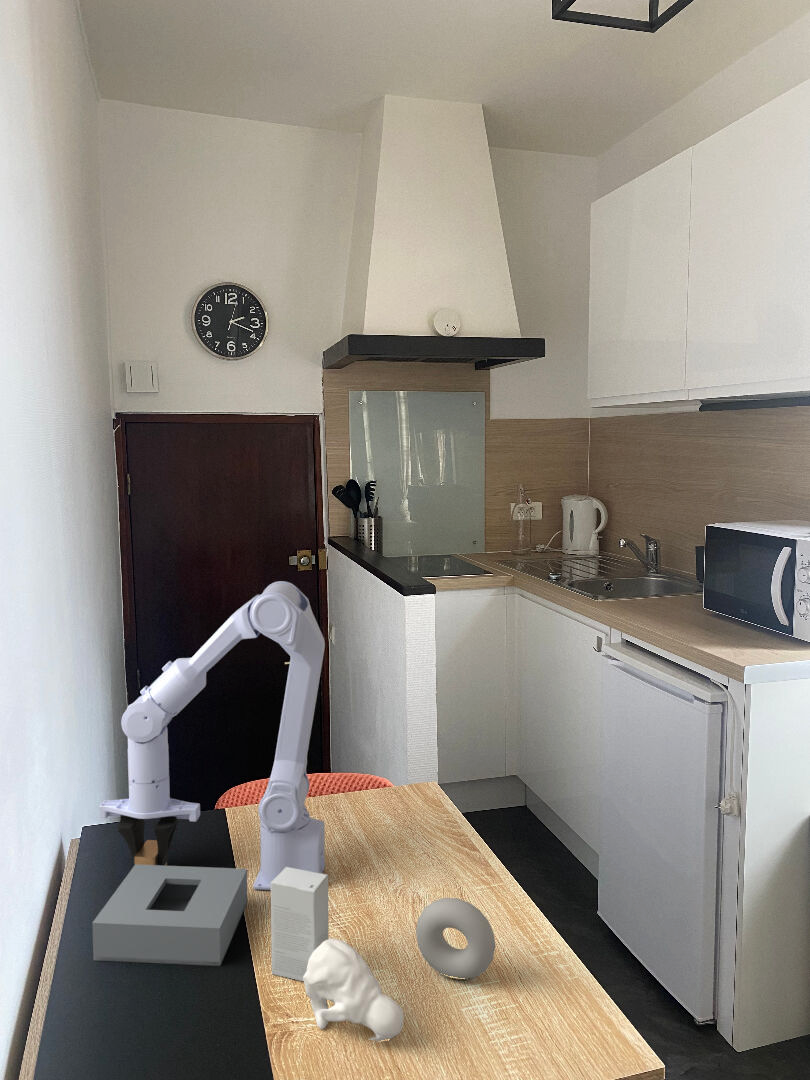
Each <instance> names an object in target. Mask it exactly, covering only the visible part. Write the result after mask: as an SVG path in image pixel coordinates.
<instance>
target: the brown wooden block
mask: <svg viewBox="0 0 810 1080" xmlns="http://www.w3.org/2000/svg"><path fill="white" fill-rule="evenodd" d="M135 864H136V865H158V846H157V839H156V840H155V839H147V840H146V841H144V845H143V846H142V847H141V849H140V850H139V851H138V853H137V854H136V855H135ZM164 866H168V861H167V862H166V864H165V865H164Z"/></svg>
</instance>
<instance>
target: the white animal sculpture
mask: <svg viewBox="0 0 810 1080" xmlns="http://www.w3.org/2000/svg"><path fill="white" fill-rule="evenodd" d="M303 981H304V982H303ZM303 981H302V982H303V984H304V989H305V994H306V996H307V997H308V998H309V999H310V1004H311V1009H312V1011H313V1014H314V1017H315V1020H316V1026H317V1027H319V1028H320V1030H321V1029H322V1030H324V1029H326V1027H327V1025H328V1023H329V1022H344V1021H345V1022H346V1021H349V1022H350V1023H352V1024H361V1025H362V1026H364V1027H367V1028H369V1029H370V1030H371V1031H373V1033H374V1035H375V1036H374V1037H370V1038H368V1040H369V1041H374V1042H377V1041H381V1040H385V1039H391V1038H392V1039H393V1038H394V1037H396V1036H398V1035H399V1034H400V1033H401V1031H402V1029H403V1026H404V1015H405V1014H404V1012H403V1011H404V1010H403V1009H402V1007H401V1005H400V1004H398V1002H397V1001H395V1000H394V999H392V998H391V996H388V995H387V994H383V991H382V988H381V984H380V982H379V980H378V979H377V978H376V976H374V974H373V973H372V970H371V968H370V966H369V965H368V964H367V962H366V961H365V960H364V958H363V957H362V956H361V955H360V954H359V953H358V952H357V950H356V949H355V947H353V946H351V945H349V944H348V943H347V942H345V941H344V940H341V939H337V938H333V937H331V938H329V939H328V940H325V941H324V942H323V943H322V944H321V945H320V946H318V947H317V948H316V949H315V950H314V952H313V953H312V955H311V956H310V958H309V961H308V965H307V971H306V973H305V975H304V976H303ZM328 1000H329V1001H330V1002H331V1003H333V1004H334V1005H332V1006H331V1007H329V1006H328ZM319 1028H318V1029H319ZM323 1028H324V1029H323ZM392 1039H391V1040H392ZM381 1042H382V1041H381Z"/></svg>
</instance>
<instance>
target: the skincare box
mask: <svg viewBox="0 0 810 1080" xmlns="http://www.w3.org/2000/svg"><path fill="white" fill-rule="evenodd" d="M270 918H271V919H270V928H271V931H270V932H271V933H270V935H271V938H270V939H271V941H270V943H271V945H270V946H271V974H272V975H273V974H274V976H279V977H282V976H283V977H282V978H286V977H287V978H286V979H290V978H291V980H294V979H295V981H298V982H299V981H300V982H303V976H304V975H305V973H306V971H307V965H308V961H309V958H310V956H311V955H312V953H313V952H314V950H315V949H316V948H317V947H318V946H320V945H321V944H322V943H323V942H324V941H325V940H328V939H330V938H329V937H330V935H329V934H330V932H329V929H330V928H329V874H325V873H323V874H321V873H315V872H310V871H305V870H300V869H295V868H290V867H285V869H284V870H283V871H282V872H281V873H280V874H279V875H278V876H277V877H276V878H275V879H274V880H273V881H272V882H271V890H270Z"/></svg>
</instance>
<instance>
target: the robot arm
mask: <svg viewBox="0 0 810 1080" xmlns="http://www.w3.org/2000/svg"><path fill="white" fill-rule="evenodd" d="M260 634H262V635H263V636H265V637H267V638H269V639H271V640H272V641H274V642H276V643H277V644H279V646H281V648H283V650H284V651H285V652H286V653H287V654H288V655H289V656H290V660H289V666H288V672H287V680H286V685H285V691H284V692H285V693H284V696H283V697H284V699H283V704H282V709H281V715H280V723H279V730H278V735H277V742H276V748H275V755H274V761H273V766H272V770H271V772H270V773H271V774H270V776H269V778H268V783H267V786H266V789H265V791H264V794H263V796H262V797H261V799H260V801H259V804H258V810H257V811H258V816H259V818H260V823H259V824H260V825H259V826H260V827H259V828H260V830H259V831H260V834H259V835H260V868H259V871H258V873H257V876H256V878H255V881H254V882H253V885H252V888H253V890H265V891H271V882H272V881H273V880H274V879H275V878H276V877H277V876H278V875H279V874H280V873H281V872H282V871H283V870H284V869H285V867H290V868H295V869H300V870H305V871H310V872H315V873H321V874H324V871H325V866H326V859H325V858H326V856H325V854H326V853H325V851H326V850H325V848H326V846H325V843H326V841H325V839H326V837H325V833H326V832H325V831H326V829H325V821H324V820H320V819H316V818H313V817H312V816H310V812H309V811H308V809H307V807H306V805H305V802H306V798H307V796H308V794H309V791H310V780H309V777H308V774H307V766H308V751H309V747H310V739H311V735H312V727H313V721H314V715H315V711H316V710H315V709H316V704H317V699H318V698H317V697H318V691H319V690H318V689H319V684H320V677H321V673H322V667H323V661H324V653H325V647H326V643H325V637H324V636H323V633H322V631H321V629H320V626H319V624H318V622H317V620H316V617H315V615H314V613H313V611H312V607H311V605H310V601H309V598H308V597H307V596H306V595H305V594H304V593H303V592H302V591H301V590H300V589H299V588H298V587H297V586H296V585H294V584H293V583H291V582H289V581H284V580H283V581H282V580H281V581H280V580H279V581H274V582H272V583H271V584H269V585H267V587H266V588H264V590H263V592H262V593H261V594H259V593H258V594H256V595H255V596H253V597H252V598H251V599H250V600H248V601H247V602H246V603H244V604H243V605H242V606H241V607H240V608H238V609H237V610H236V611H234V613H232V614H231V615H230V616H229V618H227V620H225V622H224V623H223V624H222V625H221V626H220V627H219V628H218V629H217V630H216V631H215V632H214V633H213V634H212V636H210V638H208V640H206V642H205V643H204V644H203V645H201V646H200V648H199V649H198V650H197V651H196V652H195V654H194V655H193V656H192V657H181V658H180V657H179V658H176V660H174V661H173V662H172V660H169V661H168V662H166V664H165V665H164V666H163V667H162V668H161V670H162V673H161V675H159V676H158V677H157V678H156V679H155V680H154V681H153V682H152V683H151V684H150V686H148V685H145V686H144V687H143V688H142V689H141V690H140V691H139V692H140V694H141V695H140V696H138V698H136V700H135V701H134V702H132V703H131V704H128V706H127V708H126V710H125V711H124V712H123V714H122V716H121V721H120V725H121V729H122V732H123V733H124V735H125V736H126V737H127V771H128V772H127V773H128V774H127V775H128V776H127V777H128V778H127V779H128V797H129V798H121V799H113V800H112V799H109V800H107V799H105V800H103V801H102V802H101V803H100V805H99V806H98V814H99V815H98V818H99V819H107V818H109V817H114V818H116V817H117V818H120V819H119V823H118V824H117V832H118V833H120V834H119V835H120V836H121V837H122V838H123V839H124V841H125V843H126V844H127V847H128V849H129V851H130V854H131V857H132V860H133V864H134V865H135V855H136V854H137V853H138V851H139V850H140V849H141V847H142V846H143V845H144V843H145V837H144V835H145V824H146V823H145V822H146V820H148V819H149V820H150V819H160V820H159V821H158V822H157V823H156V824H155V826H154V834H155V837H156V840H157V846H158V865H161V866H164V865H165V864H166V862H167V863H168V861H169V860H168V859H169V853H170V848H171V843H172V841H173V837H174V835H175V832H176V830H177V827H178V826H179V825H178V824H179V823H180V820H188V821H189V822H197V821H198V820H199V818H200V816H201V804H200V803H197V802H190V801H184V800H180V799H176V798H171V796H170V794H171V793H170V769H169V768H170V765H169V764H170V757H169V756H170V755H169V743H168V742H169V741H168V739H169V736H168V733H169V731H168V724H170V722H171V721H172V719H173V718H174V717H175V716H177V715H178V714H179V713H180V712H181V711H182V710H183V709H185V707H186V706H188V704H189V703H190V702H191V701H192V700H194V698H195V697H196V696H197V695H199V693H200V692H201V691H202V690H203V689H204V688H206V685H207V672H209V670H210V669H212V667H214V666H215V665H216V664H217V663H218V662H219V661H220V660H221V659H222V658H223V657H225V655H226V654H227V653H228V652H229V651H231V650H232V649H233V648H234V647H235V646H236V645H237V644H238V643H240V641H242V640H248V639H257V638H258V637H259V635H260ZM134 865H133V866H134Z"/></svg>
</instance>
